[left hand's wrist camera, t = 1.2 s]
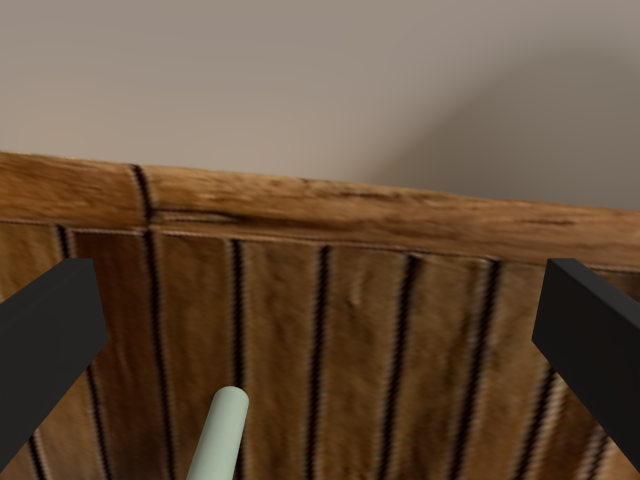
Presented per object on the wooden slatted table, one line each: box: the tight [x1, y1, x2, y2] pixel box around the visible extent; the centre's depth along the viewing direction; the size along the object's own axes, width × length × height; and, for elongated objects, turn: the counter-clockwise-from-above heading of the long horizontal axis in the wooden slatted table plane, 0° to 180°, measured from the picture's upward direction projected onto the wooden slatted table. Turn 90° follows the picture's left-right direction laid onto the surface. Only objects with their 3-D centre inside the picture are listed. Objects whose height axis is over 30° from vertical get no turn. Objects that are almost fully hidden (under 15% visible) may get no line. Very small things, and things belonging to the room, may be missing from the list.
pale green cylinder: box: [186, 386, 249, 480], centre depth 40 cm, size 4×4×17 cm
